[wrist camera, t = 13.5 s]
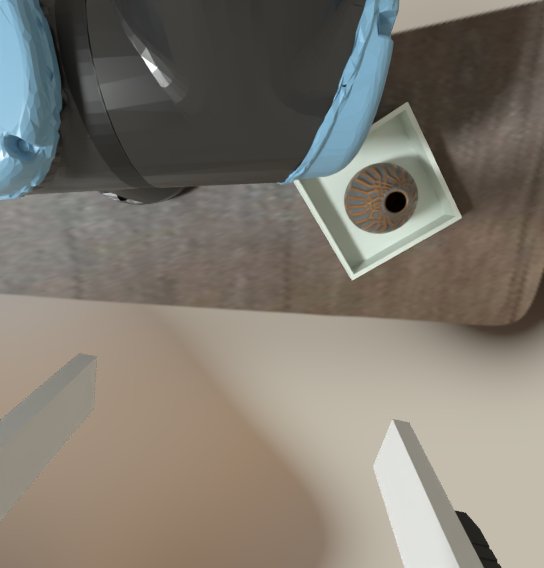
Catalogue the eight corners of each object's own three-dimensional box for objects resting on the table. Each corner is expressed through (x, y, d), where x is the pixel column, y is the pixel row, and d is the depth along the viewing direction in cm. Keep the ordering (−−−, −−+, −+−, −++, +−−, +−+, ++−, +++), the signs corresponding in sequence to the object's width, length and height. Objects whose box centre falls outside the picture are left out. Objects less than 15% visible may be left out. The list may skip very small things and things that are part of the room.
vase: (353, 155, 35) (374, 147, 27) (412, 175, 36) (451, 174, 27) (330, 217, 37) (343, 228, 29) (387, 236, 38) (416, 252, 29)
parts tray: (291, 178, 37) (291, 178, 34) (397, 108, 34) (407, 101, 31) (347, 273, 40) (352, 280, 37) (448, 214, 37) (462, 217, 34)
